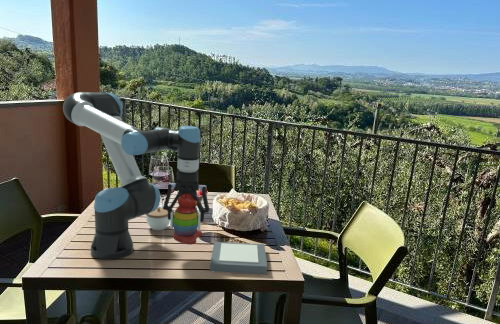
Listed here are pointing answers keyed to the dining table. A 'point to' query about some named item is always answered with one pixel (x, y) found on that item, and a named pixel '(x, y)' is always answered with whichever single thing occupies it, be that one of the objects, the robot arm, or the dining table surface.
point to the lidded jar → (158, 219)
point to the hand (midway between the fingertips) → (185, 228)
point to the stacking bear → (186, 220)
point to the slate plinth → (238, 258)
